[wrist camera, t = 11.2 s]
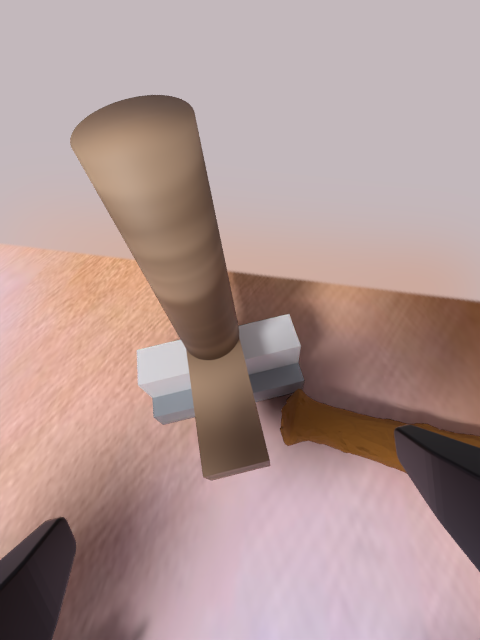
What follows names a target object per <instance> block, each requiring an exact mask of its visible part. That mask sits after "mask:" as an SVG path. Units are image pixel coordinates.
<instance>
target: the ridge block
mask: <svg viewBox="0 0 480 640" xmlns="http://www.w3.org/2000/svg"><path fill="white" fill-rule="evenodd" d="M239 338H240V342H241V346H242V350H243V354H244V358H245V362H246V366H247V371H248V375H249V379H250V383H251V387H252V391H253V395H254V399H255V402H258V401H262V400H266V399H270V398H274V397H278V396H282V395H286V394H290V393H294V392H295V391H296V390H297V389H303V385H304V378H303V375H302V372H301V369H300V366H299V363H298V361H299V355H300V349H301V345H300V342H299V340H298V337H297V334H296V331H295V329H294V326H293V323H292V320H291V318H290V315H289V314H286V315H282V316H278V317H274V318H269V319H265V320H261V321H257V322H252V323H248V324H244V325H240V326H239ZM137 370H138V386H139V387H140V388H142V389H143V390H144V391H145V392H146V393H147V394H148V395H150V396H151V397H152V398H153V414H154V418H155V419H156V420H158V421H159V422H161V423H162V424H163V425H164V424H168V423H172V422H176V421H180V420H184V419H189V418H193V417H195V412H194V405H193V397H192V390H191V382H190V375H189V367H188V360H187V352H186V348H185V346H184V344H183V343H182V341H181V340H177V341H173V342H168V343H164V344H160V345H156V346H152V347H147V348H143V349H139V350H137Z"/></svg>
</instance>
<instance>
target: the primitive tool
mask: <svg viewBox="0 0 480 640" xmlns="http://www.w3.org/2000/svg"><path fill="white" fill-rule="evenodd" d="M286 402H287V403H286V405H284V406H283V408H282V410H281V412H282V419H281V425H282V426H281V428H280V431H281V434H282V437H283V441H284V443H285V444H286V445H287V446H290V445H293V444H296V443H299V442H302V441H308V440H309V441H312V442H315V443H318V444H325V445H328V446H330V447H333V448H335V449H339V450H341V451H343V452H345V453H351V454H355V455H358V456H361V457H365V458H368V459H371V460H374V461H377V462H379V463H382V464H384V465H386V466H389V467H392V468H396V469H398V470H400V471H403V472H405V473H407V472H406V471H405V469H404V468H403V466H402V465H401V463H400V461H399V459H398V456H397V452H396V445H395V437H394V429H395V428H396V427H400V426H403V425H407V424H406V423H402V422H399V421H394V420H391V419H381V418H374V417H370V416H367V415H363V414H358V413H355V412H352V411H348V410H345V409H340V408H336V407H332V406H329V405H326V404H324V403H319V402H317V401H315V400H313V399H311V398H310V397H308V396H307V395H306V394H305V393H304V392H303V391H302V389H297V390H296V391H295V392H294V393H293V394H292V395H291V396H290V397H289V398H288V399H287V400H286ZM410 425H414V426H417V427H420V428H423V429H426V430H428V431H431V432H434V433H437V434H440V435H443V436H446V437H449V438H452V439H455V440H458V441H461V442H464V443H467V444H470V445H473V446H476V447H479V448H480V436H475V435H471V434H470V435H466V434H459V433H454V432H450V431H445V430H439V429H438V428H436V427H433V426H431V425H429V424H424V423H422V424H420V423H415V424H410Z"/></svg>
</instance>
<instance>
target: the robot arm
mask: <svg viewBox="0 0 480 640" xmlns="http://www.w3.org/2000/svg"><path fill="white" fill-rule="evenodd" d="M394 437H395V445H396V452H397V456H398V459H399V461H400V463H401V465H402V466H403V468H404V469H405V471H406V472H407V474H408V475H409V477H410V478H411V480H412V481H413V483H414V484H415V486H416V487H417V489H418V490H419V492H420V493H421V495H422V496H423V498H424V500H425V501H426V503H427V504H428V506H429V507H430V509H431V510H432V511H433V513H434V514H435V516H436V517H437V519H438V520H439V521H440V523H441V524H442V525H443V526H444V528H445V529H446V530H447V532H448V533H449V534H450V535H451V537H452V538H453V539H454V540H455V542H456V543H457V544H458V545H459V547H460V548H461V549H462V550H463V552H464V553H465V554H466V555H467V557H468V558H469V559H470V560H471V562H472V563H473V564H474V565H475V567H476V568H477V569H478V570H479V572H480V448H479V447H476V446H473V445H470V444H467V443H464V442H461V441H458V440H455V439H452V438H449V437H446V436H443V435H440V434H437V433H434V432H431V431H428V430H426V429H423V428H420V427H417V426H414V425H410V424H407V425H403V426H400V427H396V428H395V429H394ZM75 552H76V541H75V538H74V536H73V534H72V531H71V529H70V527H69V525H68V522H67V520H66V519H65V518H64V517H58V518H54V519H50V520H47V521H45V522H44V523H43V524H42V525H40V526H39V527H38V528H37V529H36V530H35V531H34V532H32V533H31V534H30V535H29V536H28V537H27V538H25V539H24V540H23V541H22V542H21V543H20V544H19V545H17V546H16V547H15V548H14V549H13V550H12V551H10V552H9V553H8V554H7V555H6V556H5V557H3V558H2V559H1V560H0V640H52V637H53V634H54V631H55V628H56V625H57V621H58V618H59V614H60V610H61V607H62V603H63V599H64V595H65V591H66V587H67V583H68V579H69V576H70V572H71V568H72V564H73V560H74V556H75Z"/></svg>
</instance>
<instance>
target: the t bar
mask: <svg viewBox="0 0 480 640" xmlns="http://www.w3.org/2000/svg"><path fill="white" fill-rule="evenodd" d="M70 143H71V147H72V149H73V151H74V153H75V154H76V156H77V158H78V160H79V161H80V163H81V165H82V166H83V168H84V170H85V172H86V174H87V175H88V177H89V179H90V181H91V182H92V184H93V186H94V188H95V189H96V191H97V193H98V195H99V196H100V198H101V200H102V202H103V203H104V205H105V207H106V209H107V210H108V212H109V214H110V216H111V218H112V219H113V221H114V223H115V225H116V226H117V228H118V230H119V232H120V233H121V235H122V237H123V239H124V240H125V242H126V244H127V246H128V247H129V249H130V251H131V253H132V255H133V256H134V258H135V260H136V262H137V263H138V265H139V267H140V269H141V270H142V272H143V274H144V276H145V277H146V279H147V281H148V283H149V284H150V286H151V288H152V290H153V292H154V293H155V295H156V297H157V299H158V300H159V302H160V304H161V306H162V307H163V309H164V311H165V313H166V314H167V316H168V318H169V320H170V321H171V323H172V325H173V327H174V328H175V330H176V332H177V334H178V335H179V337H180V339H181V341H182V343H183V344H184V346H185V348H186V352H187V360H188V367H189V375H190V382H191V390H192V397H193V405H194V412H195V420H196V427H197V435H198V442H199V450H200V457H201V465H202V472H203V477H204V478H206V479H209V480H215V479H219V478H223V477H227V476H231V475H235V474H239V473H243V472H247V471H251V470H255V469H259V468H263V467H267V466H270V460H269V456H268V452H267V448H266V444H265V440H264V436H263V431H262V427H261V423H260V419H259V415H258V411H257V407H256V403H255V399H254V395H253V391H252V387H251V383H250V379H249V375H248V371H247V366H246V362H245V358H244V354H243V350H242V346H241V342H240V338H239V326H238V321H237V317H236V312H235V307H234V302H233V297H232V292H231V288H230V283H229V278H228V273H227V268H226V263H225V258H224V254H223V249H222V244H221V239H220V234H219V229H218V225H217V220H216V215H215V210H214V205H213V200H212V196H211V191H210V186H209V181H208V176H207V171H206V167H205V162H204V157H203V152H202V148H201V142H200V137H199V132H198V128H197V123H196V118H195V113H194V110H193V108H192V107H191V106H190V104H188V103H187V102H186V101H183V100H182V99H179V98H176V97H172V96H165V95H147V96H139V97H134V98H129V99H125V100H121V101H118V102H115V103H113V104H110V105H108V106H105V107H103V108H101V109H99V110H97V111H95V112H94V113H92V114H90V115H89V116H88V117H86V118H85V119H84V120H83V121H81V122H80V123H79V124H78V125H77V127H76V128H75V129H74V131H73V133H72V135H71V138H70Z"/></svg>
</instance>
